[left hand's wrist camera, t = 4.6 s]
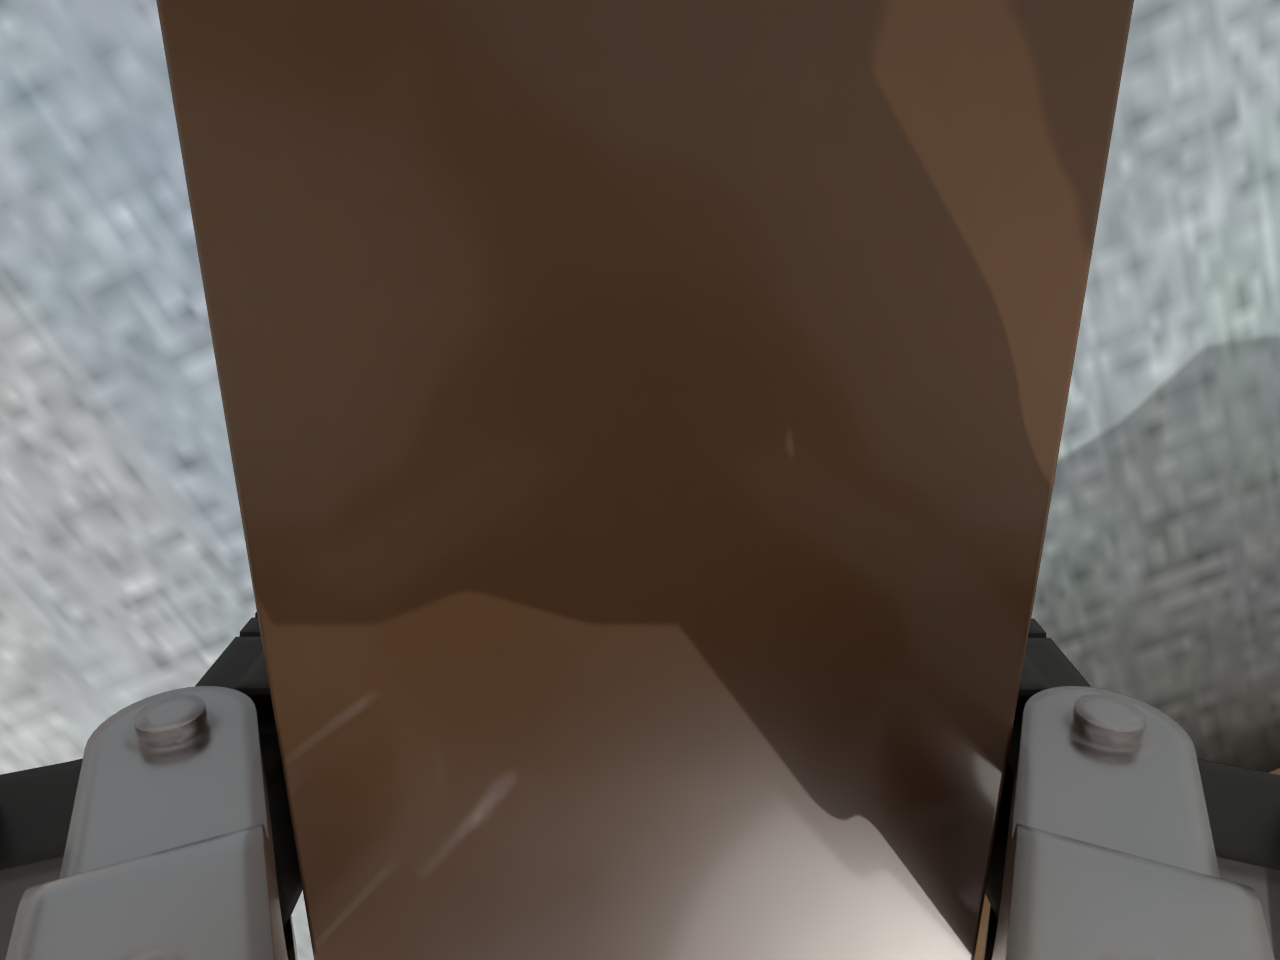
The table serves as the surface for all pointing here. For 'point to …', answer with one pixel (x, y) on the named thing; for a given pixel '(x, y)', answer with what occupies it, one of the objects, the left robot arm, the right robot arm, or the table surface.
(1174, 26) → the table surface
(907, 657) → the box
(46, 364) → the table surface
